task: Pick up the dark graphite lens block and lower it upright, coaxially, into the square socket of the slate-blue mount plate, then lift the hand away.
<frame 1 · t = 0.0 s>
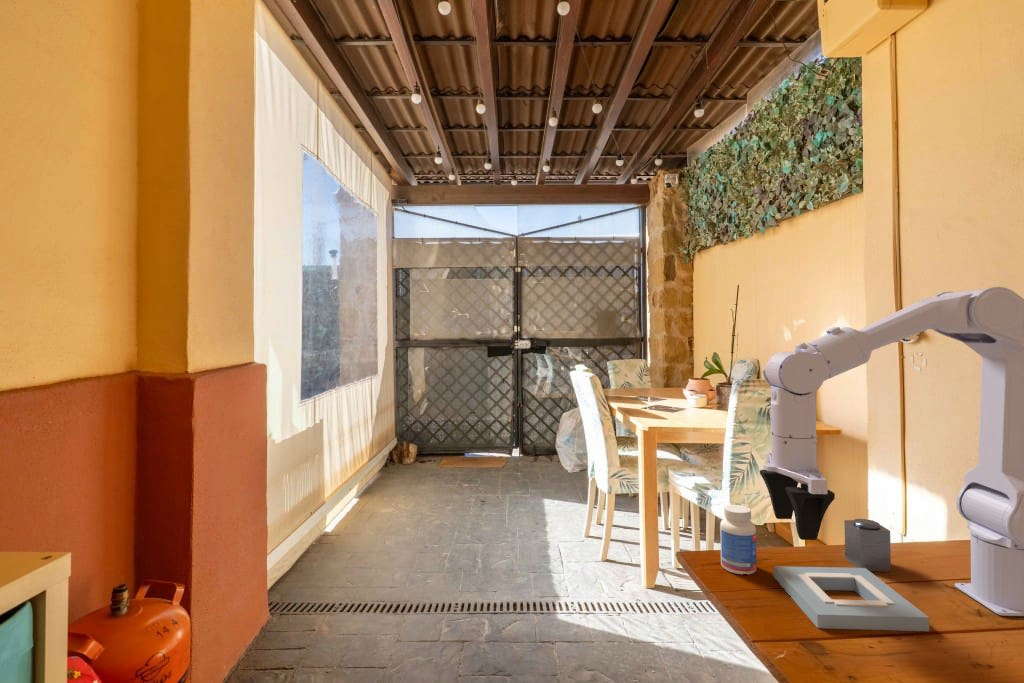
hand: (795, 528, 73), 10 cm above the table, tool pointing down, fingers open, 7 cm apart
mount plate: (843, 601, 72), on the table
lens block: (867, 564, 83), on the table
pill bottle: (738, 569, 83), on the table
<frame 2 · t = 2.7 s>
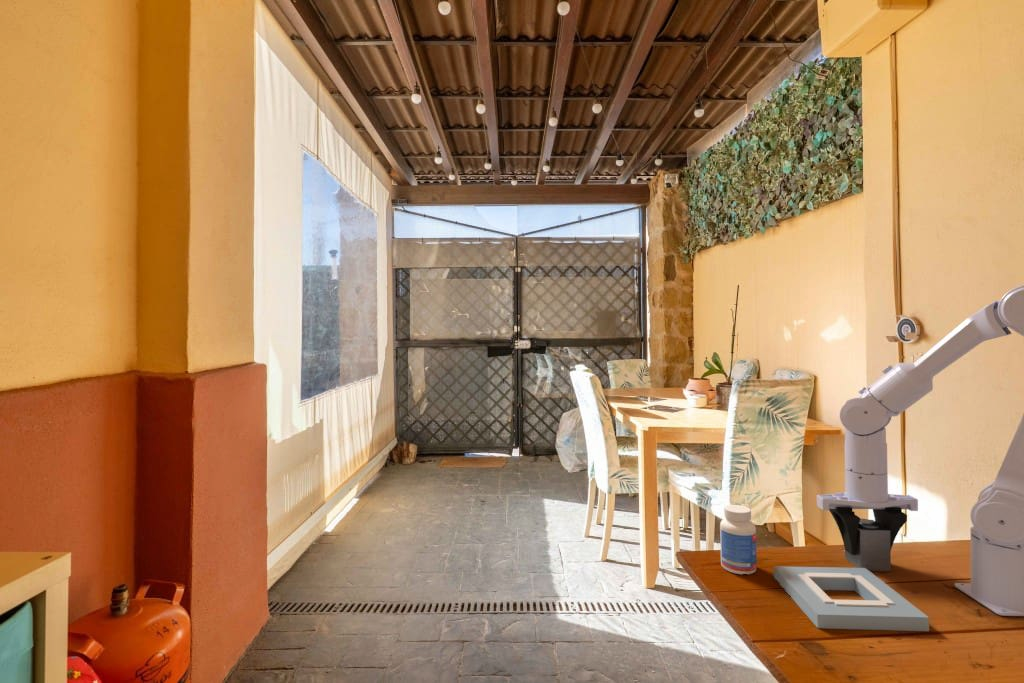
hand: (867, 552, 83), 2 cm above the table, tool pointing down, fingers closed on lens block, 4 cm apart
lens block: (867, 564, 83), on the table, touching gripper
everything else where it was.
when the fingers open (3 cm above the table, at t = 8.9 s): lens block drops 1 cm, resting in mount plate.
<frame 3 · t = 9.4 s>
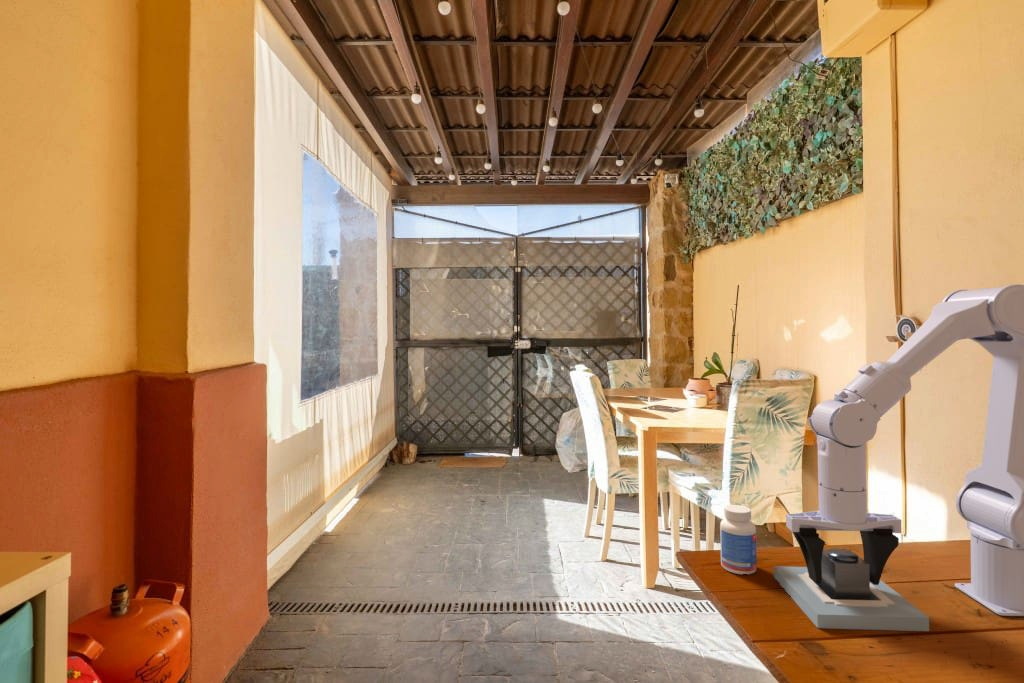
hand: (843, 580, 72), 3 cm above the table, tool pointing down, fingers open, 7 cm apart
lens block: (843, 602, 72), resting in mount plate
everything else where it was.
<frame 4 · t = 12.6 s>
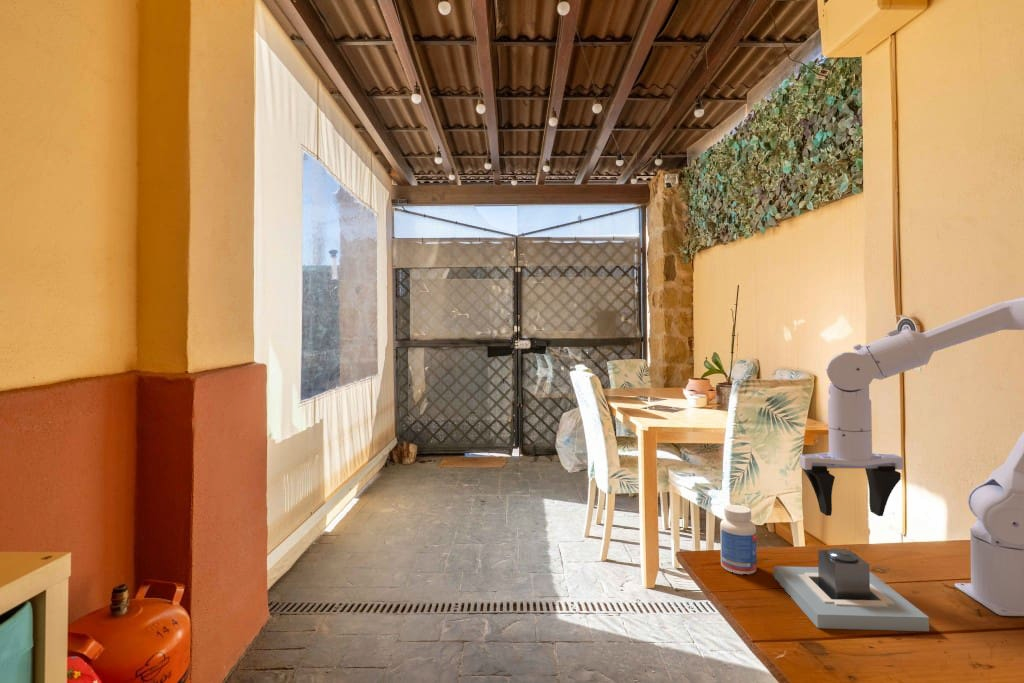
hand: (851, 513, 80), 9 cm above the table, tool pointing down, fingers open, 7 cm apart
nothing on the table moved.
at the end: lens block 0.1 cm off-centre on the mount plate, point 0.0 cm above the mount plate's base; lens block tilted 0°; the gripper is holding nothing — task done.
